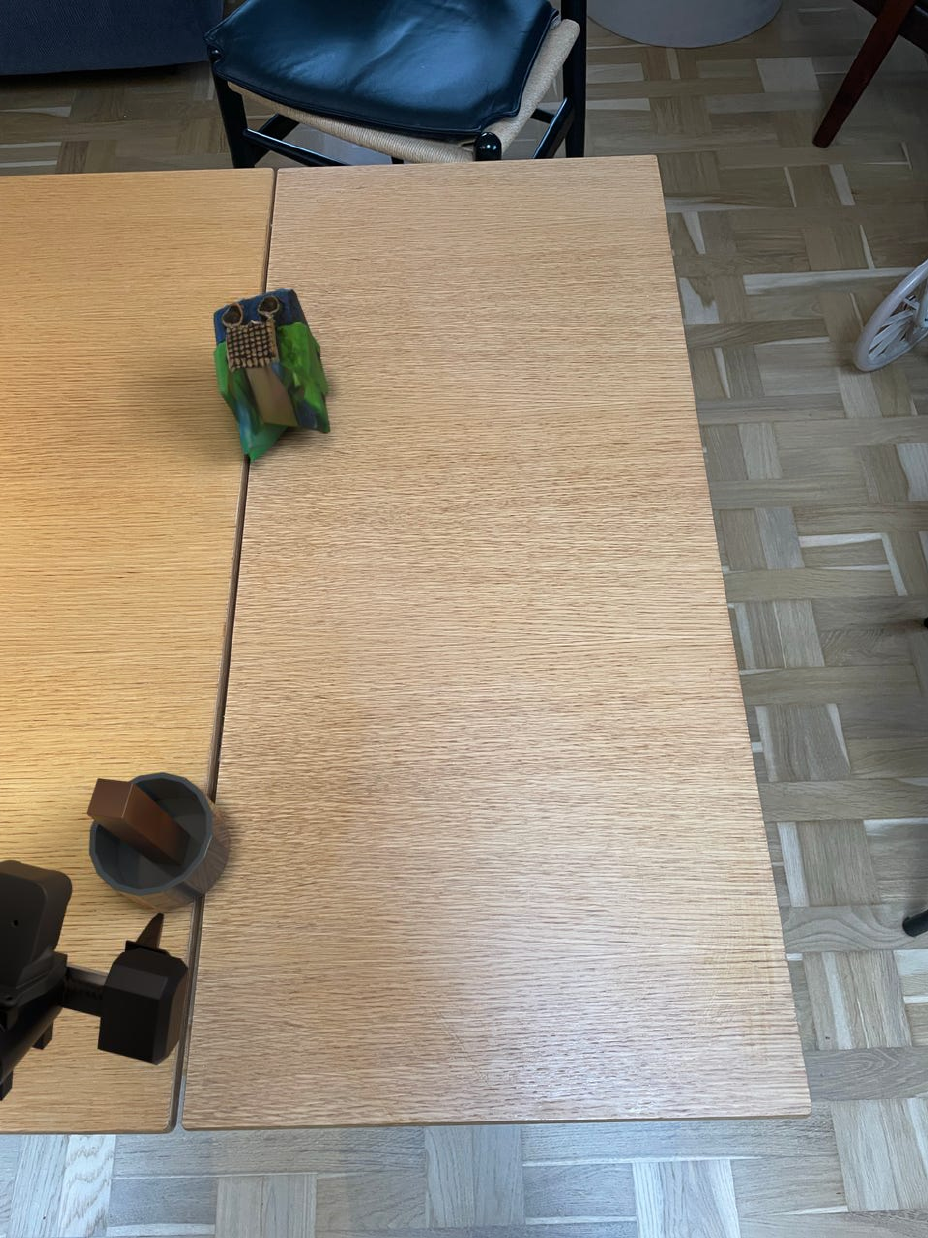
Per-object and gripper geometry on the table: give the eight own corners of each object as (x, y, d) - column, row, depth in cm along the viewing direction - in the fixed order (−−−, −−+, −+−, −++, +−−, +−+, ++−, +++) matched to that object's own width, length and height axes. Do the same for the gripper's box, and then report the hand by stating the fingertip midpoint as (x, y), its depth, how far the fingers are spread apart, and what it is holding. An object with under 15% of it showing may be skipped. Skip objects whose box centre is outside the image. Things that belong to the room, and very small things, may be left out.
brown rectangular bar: (182, 866, 78) (122, 818, 66) (150, 862, 79) (85, 814, 67) (190, 834, 79) (133, 782, 68) (159, 830, 80) (97, 777, 68)
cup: (173, 934, 76) (149, 921, 72) (91, 862, 79) (63, 845, 75) (254, 837, 80) (237, 819, 75) (172, 772, 83) (151, 750, 78)
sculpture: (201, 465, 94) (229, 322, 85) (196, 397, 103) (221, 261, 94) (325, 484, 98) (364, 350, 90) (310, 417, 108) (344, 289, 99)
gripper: (134, 972, 48) (243, 828, 63) (-214, 883, 50) (-26, 763, 65) (113, 1152, 51) (223, 974, 66) (-214, 1063, 53) (-35, 909, 68)
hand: (96, 902), depth 66 cm, fingers open, 9 cm apart
